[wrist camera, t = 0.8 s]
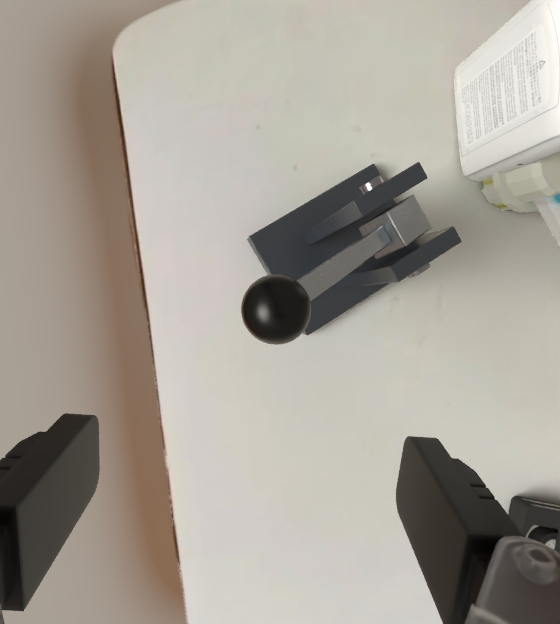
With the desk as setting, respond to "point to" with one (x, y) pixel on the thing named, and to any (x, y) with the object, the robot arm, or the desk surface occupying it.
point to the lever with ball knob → (326, 274)
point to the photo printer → (511, 94)
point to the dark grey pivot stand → (346, 241)
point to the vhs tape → (537, 520)
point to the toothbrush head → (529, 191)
